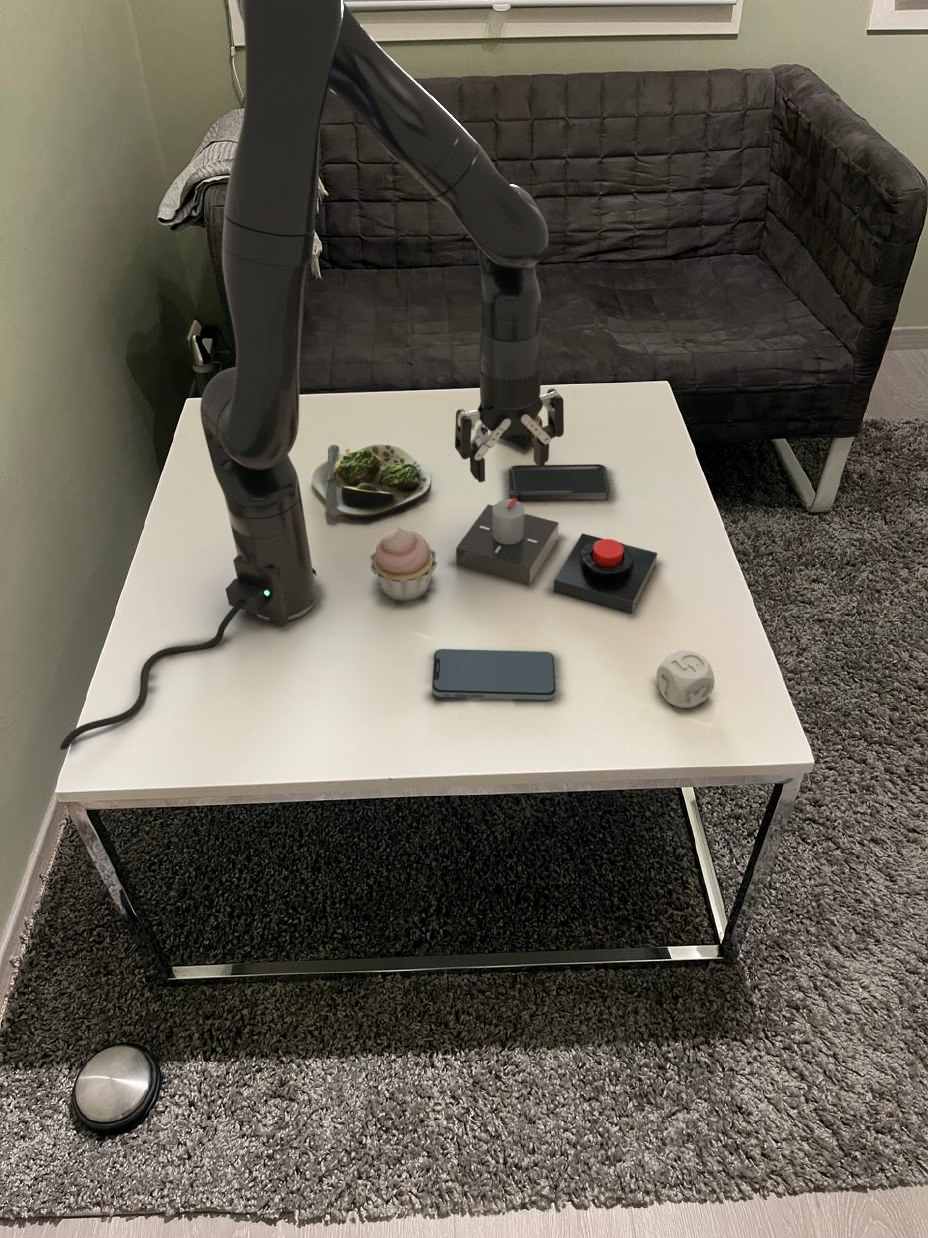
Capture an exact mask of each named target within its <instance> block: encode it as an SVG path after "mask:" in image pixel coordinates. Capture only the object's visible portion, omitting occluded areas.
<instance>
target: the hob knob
mask: <svg viewBox="0 0 928 1238" xmlns="http://www.w3.org/2000/svg"><path fill="white" fill-rule="evenodd" d="M525 511H526V508H525V506H524V504H523V503H522V502H521V501H516V499H514V498H513V499H510V498H509V499H502V500H499V501H496V503H494V505H493V509H492V535H493V538H494V539H495V540H496V541H497V542H499V543H501V544H508V545H509V544H515V543H518V542H520V541H521V540H522V539H523V537H524V516H525V514H526V512H525Z"/></svg>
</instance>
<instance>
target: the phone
mask: <svg viewBox="0 0 928 1238" xmlns="http://www.w3.org/2000/svg"><path fill="white" fill-rule="evenodd" d="M609 483H610V481H609V476H608V470H607V467H606V466H605V465H604V464H598V463H597V464H596V463H593V464H591V463H590V464H589V463H588V464H587V463H586V464H585V463H584V464H545V466H544V467H541V468H539V467H538V466H537V465H536V464H527V465H526V464H517V465H515V464H514V465H512V466H509V468H508V489H509V499H510V500H512V499H513V498H514V499H516V501H518V502H554V501H555V502H559V501H562V502H563V501H567V502H569V501H606V500H608V499H609V498H610V491H611V488H610V484H609Z"/></svg>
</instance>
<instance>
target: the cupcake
mask: <svg viewBox="0 0 928 1238" xmlns="http://www.w3.org/2000/svg"><path fill="white" fill-rule="evenodd" d="M437 555H438V554H437V552H436V551H435V550H433V549H431V548H430V544H429V542H427V541H426V538H425V537H424V536H423V534H421V533H420V532H419V531H416V530H415V529H410V528H403V527H398V528H397V529H394V530H391V531H388V532H386V533H385V534H383V537H382V539H380V540H379V542H378V543H377V544H376V547H375V551H374V552H373V553H371V554H369V555H368V557H369V559H370V561H371V563H370V564H369V566H368V568H369V570H371V572H372V573H373V574H374V575H375V577H376V578H377V581H378V582H379V585H380V587H381V590H382V592H383V593H384V594H385V595H386V596H387V597H388V598H390V599H392V600H394V601H399V602H410V601H414V600H417V599H419V598H421V597H422V596H423V595H424V594H425V593H426V592H427V590H428V588H429V585H430V582H431V578H432V575H433V573H434V571H435V570H436V568H437V567H438V565H439V563H438V561H437V560H436V557H437Z"/></svg>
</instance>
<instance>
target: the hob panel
mask: <svg viewBox="0 0 928 1238" xmlns="http://www.w3.org/2000/svg"><path fill="white" fill-rule="evenodd" d="M493 506H494V505H493V504H489V503H487V505H486V506H485V507H484V509H483V510H482V512H481V513H480V514H479V516H478V517H477V518H476V520H475V521H474V523H473V524H472V525H471V527H469V530H468V531H467V533H465V535H464V537H462V539H461V541H460V542H459V543H458V544H457V547H455V555H456V556H455V558H456V565H457V566H461V567H465V568H468V569H471V570H475V571H479V572H482V573H485V574H488V575H493V576H497V577H500V578H503V579H507V580H510V581H513V582H517V583H520V584H525V585H527V586H530V585H531V584H532V582H533V580H534V578H535V577H536V575H537V573H538V572H539V570H540V569H541V568H542V565H543V564H544V562H545V561H546V559H547V557H548V556H549V554H550V553H551V551H552V550H553V548H554V546H555V544H556V543H557V541H558V539H559V527H560V523H559V522H558V521H555V520H550V519H547V518H543V517H539V516H535V515H531V514H528V513H525V516H524V537H523V539H522V540H521V541H520V542H518V543H515V544H509V545H508V544H501V543H499V542H497V541H496V540H495V539H494V538H493V535H492V509H493Z"/></svg>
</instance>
